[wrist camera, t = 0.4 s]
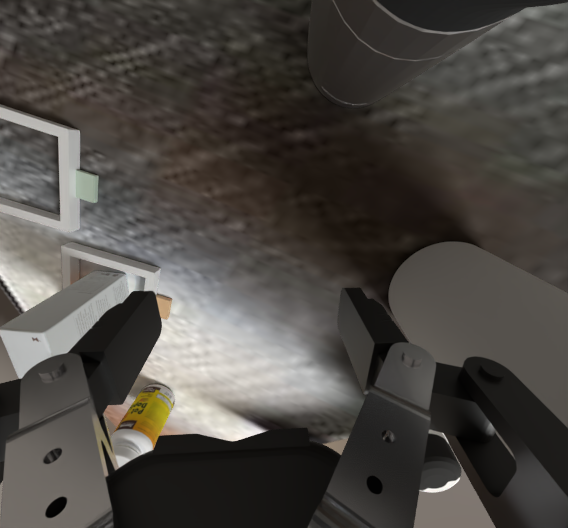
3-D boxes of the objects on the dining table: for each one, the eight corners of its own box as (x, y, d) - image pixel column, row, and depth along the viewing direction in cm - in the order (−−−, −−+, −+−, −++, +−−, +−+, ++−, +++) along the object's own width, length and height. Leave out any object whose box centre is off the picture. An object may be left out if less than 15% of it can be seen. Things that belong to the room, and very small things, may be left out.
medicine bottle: (362, 384, 39) (389, 475, 28) (407, 363, 37) (454, 452, 26) (386, 412, 41) (419, 507, 30) (429, 393, 39) (481, 487, 28)
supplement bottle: (160, 377, 40) (119, 446, 31) (183, 400, 42) (151, 471, 33) (134, 390, 42) (86, 459, 32) (157, 411, 43) (119, 483, 34)
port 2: (71, 241, 32) (61, 245, 31) (176, 272, 33) (171, 278, 32) (72, 313, 36) (63, 320, 35) (165, 339, 37) (160, 346, 36)
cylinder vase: (481, 221, 29) (1194, 483, 6) (501, 308, 33) (966, 663, 10) (372, 265, 32) (576, 568, 9) (403, 341, 36) (596, 683, 13)
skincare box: (93, 269, 33) (-6, 326, 22) (127, 272, 33) (44, 332, 22) (102, 309, 36) (16, 379, 25) (133, 313, 36) (61, 384, 25)
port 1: (-32, 93, 26) (-51, 90, 25) (99, 137, 27) (89, 136, 26) (-17, 200, 30) (-32, 202, 29) (96, 234, 31) (87, 237, 30)
